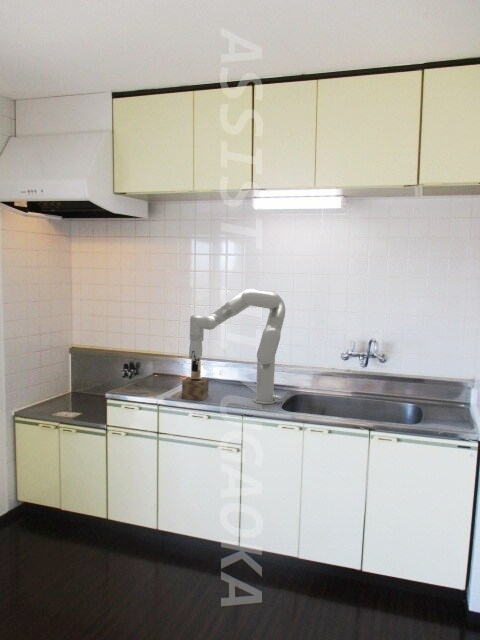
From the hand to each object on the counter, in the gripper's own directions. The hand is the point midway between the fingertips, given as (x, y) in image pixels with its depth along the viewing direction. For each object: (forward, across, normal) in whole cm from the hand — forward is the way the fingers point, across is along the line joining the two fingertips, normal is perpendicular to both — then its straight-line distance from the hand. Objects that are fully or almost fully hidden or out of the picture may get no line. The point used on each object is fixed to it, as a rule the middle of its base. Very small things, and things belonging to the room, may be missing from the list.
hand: (195, 370), depth 285 cm
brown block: (+15, 0, 0) cm, 15 cm away
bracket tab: (+4, 0, 0) cm, 4 cm away
